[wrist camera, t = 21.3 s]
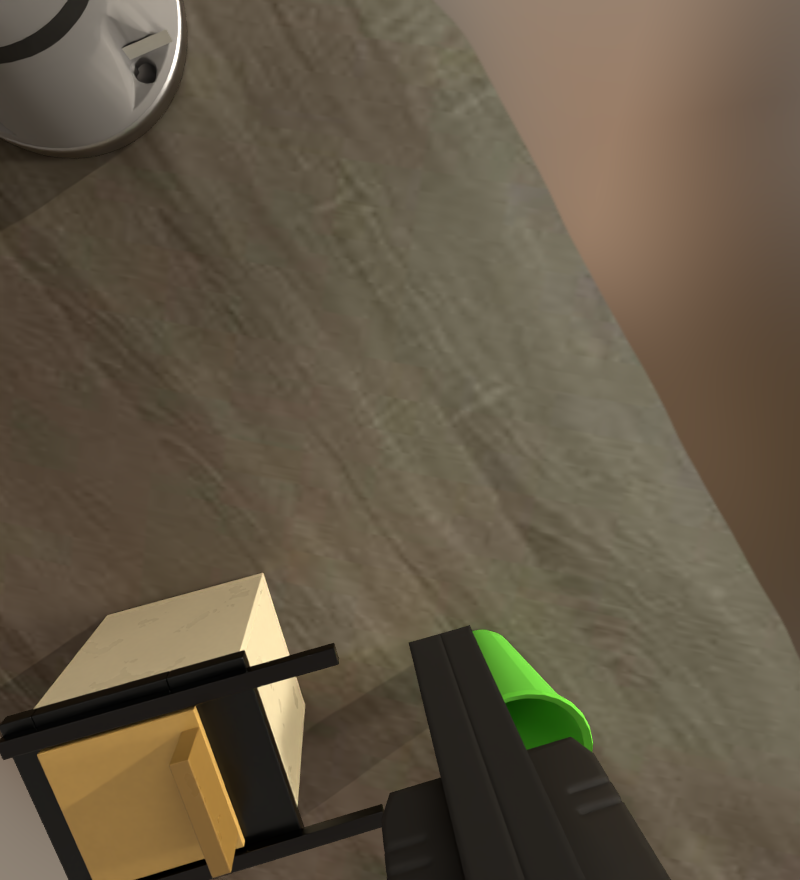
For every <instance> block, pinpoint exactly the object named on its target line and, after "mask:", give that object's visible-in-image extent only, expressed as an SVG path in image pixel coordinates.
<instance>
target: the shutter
mask: <svg viewBox="0 0 800 880" xmlns="http://www.w3.org/2000/svg"><path fill="white" fill-rule="evenodd" d="M37 757H38V759H39V761H40V763H41V766H42V768H43V770H44V772H45V775H46V777H47V779H48V781H49V783H50V786H51V788H52V790H53V792H54V795H55V797H56V799H57V801H58V804H59V806H60V808H61V810H62V813H63V815H64V817H65V819H66V822H67V824H68V826H69V828H70V831H71V833H72V835H73V837H74V840H75V842H76V844H77V846H78V849H79V851H80V853H81V855H82V857H83V860H84V862H85V864H86V866H87V869H88V871H89V873H90V875H91V878H92V880H135V879H139V878H142V877H145V876H149V875H152V874H155V873H159V872H162V871H165V870H168V869H172V868H175V867H178V866H182V865H185V864H188V863H192V862H195V861H198V860H201V859H205V860H206V863H207V865H208V868H209V871H210V873H211V876H212V878H215V877H218V876H221V875H224V874H228V873H230V872H231V870H232V864H233V859H234V854H235V849H238V848H241V847H244V844H245V839H244V837H243V834H242V831H241V829H240V826H239V823H238V820H237V818H236V815H235V812H234V809H233V807H232V804H231V801H230V798H229V796H228V793H227V790H226V788H225V785H224V782H223V779H222V777H221V774H220V771H219V768H218V766H217V763H216V760H215V758H214V755H213V752H212V749H211V747H210V744H209V741H208V738H207V736H206V733H205V730H204V728H203V725H202V722H201V719H200V717H199V714H198V711H197V708H196V706H192V707H189V708H185V709H182V710H178V711H175V712H171V713H168V714H164V715H161V716H157V717H154V718H150V719H147V720H143V721H140V722H136V723H133V724H129V725H126V726H122V727H119V728H115V729H112V730H108V731H105V732H101V733H98V734H94V735H91V736H87V737H84V738H80V739H77V740H73V741H70V742H66V743H63V744H59V745H56V746H52V747H49V748H45V749H42V750H40V751H39V753H38V754H37Z"/></svg>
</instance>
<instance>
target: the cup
mask: <svg viewBox="0 0 800 880" xmlns="http://www.w3.org/2000/svg"><path fill="white" fill-rule="evenodd" d="M472 632H473V634H474V636H475V638H476V641H477V643H478V645H479V647H480V649H481V651H482V654H483V656H484V658H485V660H486V662H487V665H488V667H489V669H490V671H491V673H492V675H493V678H494V680H495V682H496V684H497V686H498V689H499V691H500V693H501V695H502V697H503V700H504V702H505V704H506V706H507V708H508V710H509V713H510V715H511V717H512V719H513V721H514V724H515V726H516V728H517V730H518V732H519V735H520V737H521V739H522V741H523V743H524V745H525V748H526V750H528V749H531V748H534V747H538V746H541V745H544V744H548V743H551V742H554V741H558V740H561V739H564V738H567V737H572V738H574V739H575V740H576V741H578V742H579V743H580V744H582V745H583V746H584V747H586V748H587V749H588V750H590V751H591V752H592V748H593V740H592V735H591V731H590V726H589V724H588V723H587V721H586V719H585V717H584V715H583V713H582V712H581V711H580V710H579V709H578V708H577V707H576V706H575V705H574V704H573V703H572V702H570V701H568V700H566V699H565V698H563V697H561V696H559V695H558V694H557V693H556V692H555V691H554V690H553V689H552V688H551V687H550V686H549V685H548V684H547V683H546V682H545V681H544V680H543V678H542V677H541V676H540V675H539V674H538V673H537V672H536V671H535V670H534V669H533V668H532V667H531V666H530V665H529V664H528V663H527V661H526V660H525V659H524V658H523V657H522V656H521V655H520V654H519V653H518V652H517V651H516V650H515V649H514V648H513V647H512V646H511V644H510V643H509V642H508V641H507V640H506V639H505V638H504V637H503V636H501V635H499V634H498V633H495V632H492V631H488V630H476V631H472Z"/></svg>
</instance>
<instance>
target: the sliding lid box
mask: <svg viewBox="0 0 800 880" xmlns="http://www.w3.org/2000/svg"><path fill="white" fill-rule="evenodd" d="M338 664H339V657H338V654H337V651H336V647H335V644H334V643H332V644H328V645H325V646H321V647H318V648H314V649H310V650H307V651H303V652H300V653H296V654H293V655H289V653H288V650H287V646H286V643H285V640H284V637H283V634H282V631H281V627H280V624H279V621H278V618H277V615H276V612H275V609H274V605H273V602H272V599H271V596H270V593H269V590H268V587H267V583H266V580H265V577H264V574H263V573H260V574H256V575H253V576H249V577H245V578H242V579H238V580H234V581H231V582H227V583H223V584H220V585H216V586H212V587H209V588H205V589H201V590H198V591H194V592H190V593H187V594H183V595H179V596H176V597H172V598H168V599H165V600H161V601H157V602H154V603H150V604H146V605H143V606H139V607H135V608H132V609H128V610H124V611H121V612H117V613H113V614H110V615H107V616H106V617H105V619H104V620H103V621H102V623H101V624H100V625H99V626H98V628H97V629H96V630H95V631H94V633H93V634H92V635H91V636H90V638H89V639H88V640H87V642H86V643H85V644H84V645H83V647H82V648H81V649H80V650H79V652H78V653H77V654H76V655H75V657H74V658H73V659H72V661H71V662H70V663H69V664H68V666H67V667H66V668H65V669H64V671H63V672H62V673H61V674H60V676H59V677H58V678H57V680H56V681H55V682H54V683H53V685H52V686H51V687H50V688H49V690H48V691H47V692H46V693H45V695H44V696H43V697H42V699H41V700H40V701H39V702H38V704H37V705H36V706H35V707H34V709H32V710H28V711H25V712H21V713H18V714H14V715H10V716H7V717H6V718H5V719H4V720H3V721H2V723H1V724H0V731H1V733H2V735H3V737H2V738H1V739H0V754H1V756H2V758H3V760H5V759H9V758H12V757H13V759H14V761H15V763H16V766H17V768H18V770H19V772H20V775H21V777H22V779H23V781H24V783H25V786H26V788H27V790H28V792H29V794H30V797H31V799H32V801H33V803H34V805H35V807H36V809H37V812H38V814H39V816H40V818H41V821H42V823H43V825H44V827H45V829H46V831H47V834H48V836H49V838H50V840H51V842H52V845H53V847H54V849H55V851H56V853H57V855H58V858H59V860H60V862H61V864H62V866H63V868H64V871H65V873H66V875H67V877H68V880H92V878H91V875H90V873H89V871H88V869H87V866H86V864H85V862H84V860H83V857H82V855H81V853H80V851H79V849H78V846H77V844H76V842H75V840H74V837H73V835H72V833H71V831H70V828H69V826H68V824H67V822H66V819H65V817H64V815H63V813H62V810H61V808H60V806H59V804H58V801H57V799H56V797H55V795H54V792H53V790H52V788H51V786H50V783H49V781H48V779H47V777H46V775H45V772H44V770H43V768H42V766H41V763H40V761H39V759H38V757H37V754H38V753H39V751H40V750H42V749H45V748H49V747H52V746H56V745H59V744H63V743H66V742H70V741H73V740H77V739H80V738H84V737H87V736H91V735H94V734H98V733H101V732H105V731H108V730H112V729H115V728H119V727H122V726H126V725H129V724H133V723H136V722H140V721H143V720H147V719H150V718H154V717H157V716H161V715H164V714H168V713H171V712H175V711H178V710H182V709H185V708H189V707H192V706H196V708H197V711H198V714H199V717H200V719H201V722H202V725H203V728H204V730H205V733H206V736H207V738H208V741H209V744H210V747H211V749H212V752H213V755H214V758H215V760H216V763H217V766H218V768H219V771H220V774H221V777H222V779H223V782H224V785H225V788H226V790H227V793H228V796H229V798H230V801H231V804H232V807H233V809H234V812H235V815H236V818H237V820H238V823H239V826H240V829H241V831H242V834H243V837H244V839H245V844H244V847H241V848H238V849H235V854H234V859H233V864H232V870H231V872H230V873H233V872H237V871H240V870H243V869H246V868H250V867H253V866H256V865H259V864H263V863H266V862H269V861H273V860H276V859H279V858H282V857H286V856H289V855H292V854H295V853H299V852H302V851H305V850H309V849H312V848H315V847H318V846H322V845H325V844H328V843H332V842H335V841H338V840H341V839H345V838H348V837H351V836H354V835H358V834H361V833H364V832H368V831H371V830H374V829H377V828H381V827H382V822H381V820H382V816H383V813H384V809H383V805H382V804H380V805H377V806H374V807H370V808H367V809H364V810H360V811H357V812H354V813H350V814H347V815H344V816H341V817H337V818H334V819H331V820H327V821H324V822H321V823H317V824H314V825H311V826H308V827H304V825H303V822H302V819H301V816H300V813H299V810H298V793H299V780H300V767H301V754H302V741H303V727H304V714H305V703H304V700H303V697H302V694H301V690H300V687H299V684H298V681H297V678H296V676H300V675H303V674H307V673H310V672H314V671H317V670H321V669H324V668H328V667H331V666H335V665H338ZM230 873H228V874H230ZM224 875H227V874H224ZM221 876H223V875H221ZM218 877H220V876H218ZM215 878H217V877H215ZM210 879H214V878H212V876H211V873H210V871H209V868H208V865H207V863H206V860H205V859H201V860H198V861H195V862H192V863H188V864H185V865H182V866H178V867H175V868H172V869H168V870H165V871H162V872H159V873H155V874H152V875H149V876H145V877H142V878H139V879H135V880H210Z"/></svg>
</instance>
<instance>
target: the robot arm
mask: <svg viewBox="0 0 800 880" xmlns="http://www.w3.org/2000/svg"><path fill="white" fill-rule="evenodd" d="M186 52H187V22H186V15H185V8H184V4H183V0H0V138H2V139H4V140H5V141H7V142H9V143H11V144H13V145H16V146H18V147H20V148H22V149H25V150H28V151H31V152H34V153H38V154H42V155H46V156H52V157H59V158H87V157H93V156H99V155H103V154H106V153H110V152H113V151H115V150H118V149H120V148H122V147H124V146H126V145H128V144H130V143H132V142H133V141H135V140H136V139H138V138H139V137H141V136H142V135H143V134H145V133H146V132H147V131H148V130H149V129H150V128H151V127H152V126H153V125H154V124H155V123H156V122H157V121H158V120H159V119H160V118H161V116H162V115H163V113H164V112H165V111H166V109H167V108H168V106H169V104H170V103H171V101H172V99H173V97H174V95H175V93H176V91H177V89H178V86H179V83H180V80H181V77H182V74H183V70H184V65H185V60H186ZM409 646H410V650H411V654H412V658H413V662H414V667H415V671H416V675H417V679H418V683H419V687H420V692H421V696H422V700H423V704H424V708H425V713H426V717H427V721H428V725H429V729H430V734H431V738H432V742H433V746H434V750H435V754H436V759H437V763H438V767H439V771H440V775H441V778H438V779H435V780H431V781H428V782H425V783H421V784H418V785H415V786H411V787H408V788H405V789H402V790H398V791H395V792H392V793H390V794H389V798H388V801H387V804H386V807H385V810H384V813H383V816H382V820H381V822H382V832H383V842H384V850H385V863H386V872H387V880H671V879H670V877H669V876H668V874H667V873H666V871H665V869H664V868H663V866H662V864H661V863H660V861H659V860H658V858H657V856H656V855H655V853H654V851H653V850H652V848H651V846H650V845H649V843H648V842H647V840H646V838H645V837H644V835H643V833H642V832H641V830H640V828H639V827H638V825H637V824H636V822H635V820H634V819H633V817H632V815H631V814H630V812H629V810H628V809H627V807H626V806H625V804H624V802H622V801H621V798H620V796H619V794H618V792H617V791H616V789H615V788H614V786H613V784H612V783H611V782H610V781H609V778H608V776H607V774H606V773H605V771H604V770H603V768H602V766H601V765H600V763H599V761H598V760H597V758H596V756H595V755H594V753H592V752H591V751H590V750H588V749H587V748H586V747H584V746H583V745H582V744H580V743H579V742H578V741H576V740H575V739H574V738H572V737H567V738H564V739H561V740H558V741H554V742H551V743H548V744H544V745H541V746H538V747H534V748H531V749H528V750H526V748H525V745H524V743H523V741H522V739H521V737H520V735H519V732H518V730H517V728H516V726H515V724H514V721H513V719H512V717H511V715H510V713H509V710H508V708H507V706H506V704H505V702H504V700H503V697H502V695H501V693H500V691H499V689H498V686H497V684H496V682H495V680H494V678H493V675H492V673H491V671H490V669H489V667H488V665H487V662H486V660H485V658H484V656H483V654H482V651H481V649H480V647H479V645H478V643H477V641H476V638H475V636H474V634H473V632H472V630H471V627H470V625H469V626H466V627H462V628H459V629H455V630H452V631H448V632H445V633H441V634H438V635H434V636H431V637H427V638H424V639H420V640H417V641H413V642H410V643H409Z"/></svg>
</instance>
